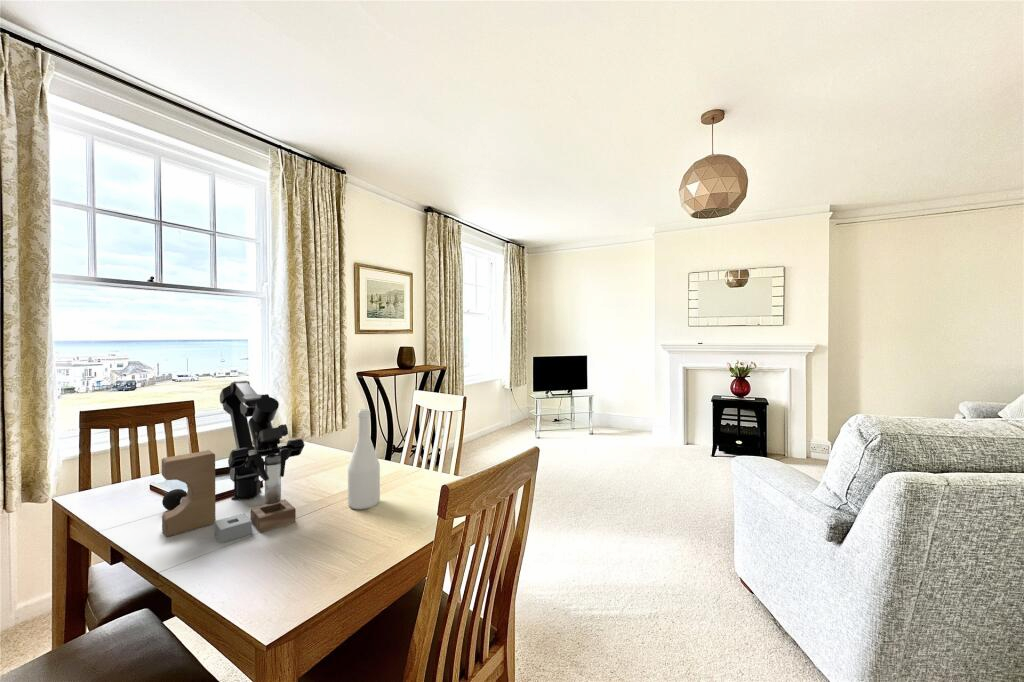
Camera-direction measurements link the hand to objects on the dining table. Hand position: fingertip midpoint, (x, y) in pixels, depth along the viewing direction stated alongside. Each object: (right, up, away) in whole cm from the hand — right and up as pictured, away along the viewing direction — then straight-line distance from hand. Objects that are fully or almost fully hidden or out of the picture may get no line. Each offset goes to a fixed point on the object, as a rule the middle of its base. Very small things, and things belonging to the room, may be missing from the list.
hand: (274, 478), depth 118 cm
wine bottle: (+20, -13, +14) cm, 28 cm away
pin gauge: (-1, -7, +1) cm, 7 cm away
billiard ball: (-35, -13, +9) cm, 39 cm away
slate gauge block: (-8, -13, -6) cm, 16 cm away
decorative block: (-22, -13, -2) cm, 26 cm away
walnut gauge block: (-1, -13, +1) cm, 13 cm away
